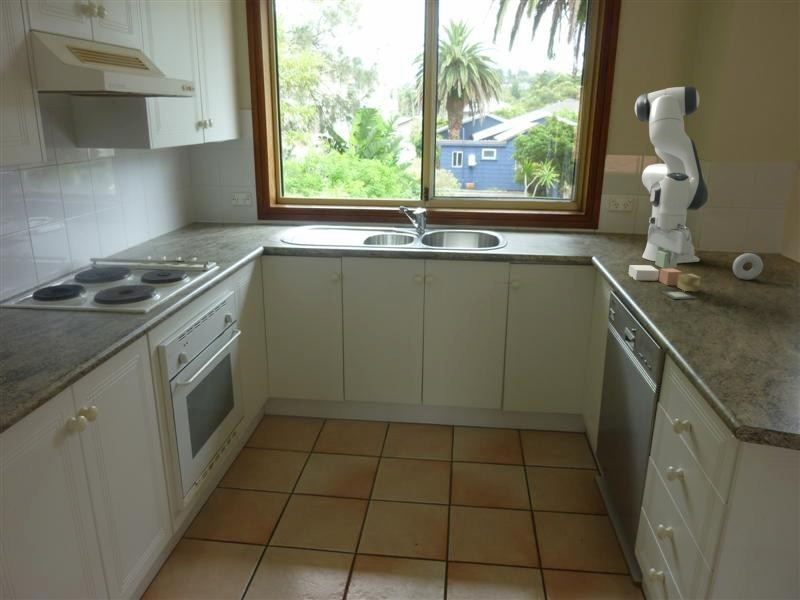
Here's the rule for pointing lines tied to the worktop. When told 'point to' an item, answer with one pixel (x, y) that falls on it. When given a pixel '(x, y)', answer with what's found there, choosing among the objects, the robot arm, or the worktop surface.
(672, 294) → the tile
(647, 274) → the base block
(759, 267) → the donut
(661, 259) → the sage cube
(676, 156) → the robot arm
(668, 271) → the terracotta cube
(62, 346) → the worktop surface
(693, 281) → the ochre cube
